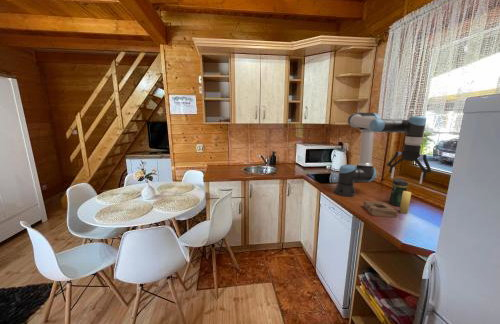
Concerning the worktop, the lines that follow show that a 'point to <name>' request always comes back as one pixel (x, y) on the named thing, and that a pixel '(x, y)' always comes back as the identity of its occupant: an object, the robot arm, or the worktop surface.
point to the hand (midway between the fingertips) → (405, 180)
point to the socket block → (380, 209)
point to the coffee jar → (397, 191)
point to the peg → (405, 202)
